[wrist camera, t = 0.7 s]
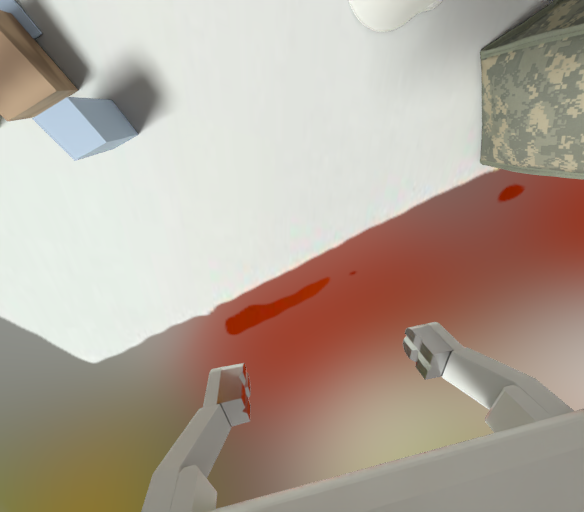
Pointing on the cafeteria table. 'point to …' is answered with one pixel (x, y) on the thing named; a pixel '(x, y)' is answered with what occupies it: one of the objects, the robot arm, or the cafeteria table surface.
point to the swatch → (20, 16)
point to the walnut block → (27, 74)
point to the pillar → (85, 126)
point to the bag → (536, 94)
